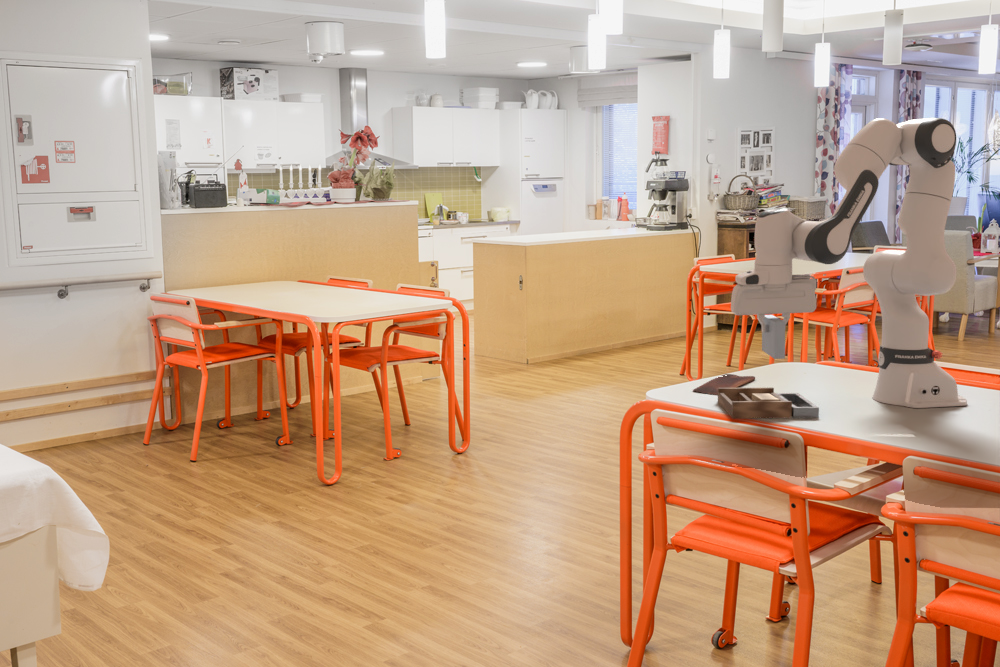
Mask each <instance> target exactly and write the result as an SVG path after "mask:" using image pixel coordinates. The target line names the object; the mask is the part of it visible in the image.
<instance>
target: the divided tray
mask: <svg viewBox="0 0 1000 667" xmlns="http://www.w3.org/2000/svg"><path fill="white" fill-rule="evenodd" d="M774 389H775V387H737V388H718V395H717V403H718V405H719V406H721V407H722V409H723V410H724V409H725V410H726V411H725V410H724V411H725V412H726V413H727V414H728V415H729V416H730V418H731V419H792V417H791V413H792V404H793V403H792V402H791V401H785V400H783V399H782V398H781V397H779V396H778V395H777V394H776V393H777V392H774V391H775V390H774ZM760 393H769V394H771V395H773V396H774V397H776V398H778V399H779V401H752V394H760Z"/></svg>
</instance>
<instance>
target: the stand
mask: <svg viewBox="0 0 1000 667" xmlns="http://www.w3.org/2000/svg"><path fill="white" fill-rule="evenodd" d="M775 393H776V394H777V395H778V396H779V397H781V398H782V399H783V400H785V401H791V402H792V413H791V418H793V419H819V415H820V414H819V412H820V407H819V406H817V405H816V404H815V403H813V402H811V401H810V400H809V399H807V398H806V397H804V396H803V395H802V394H800V393H799V392H779V393H778V392H775Z"/></svg>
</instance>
